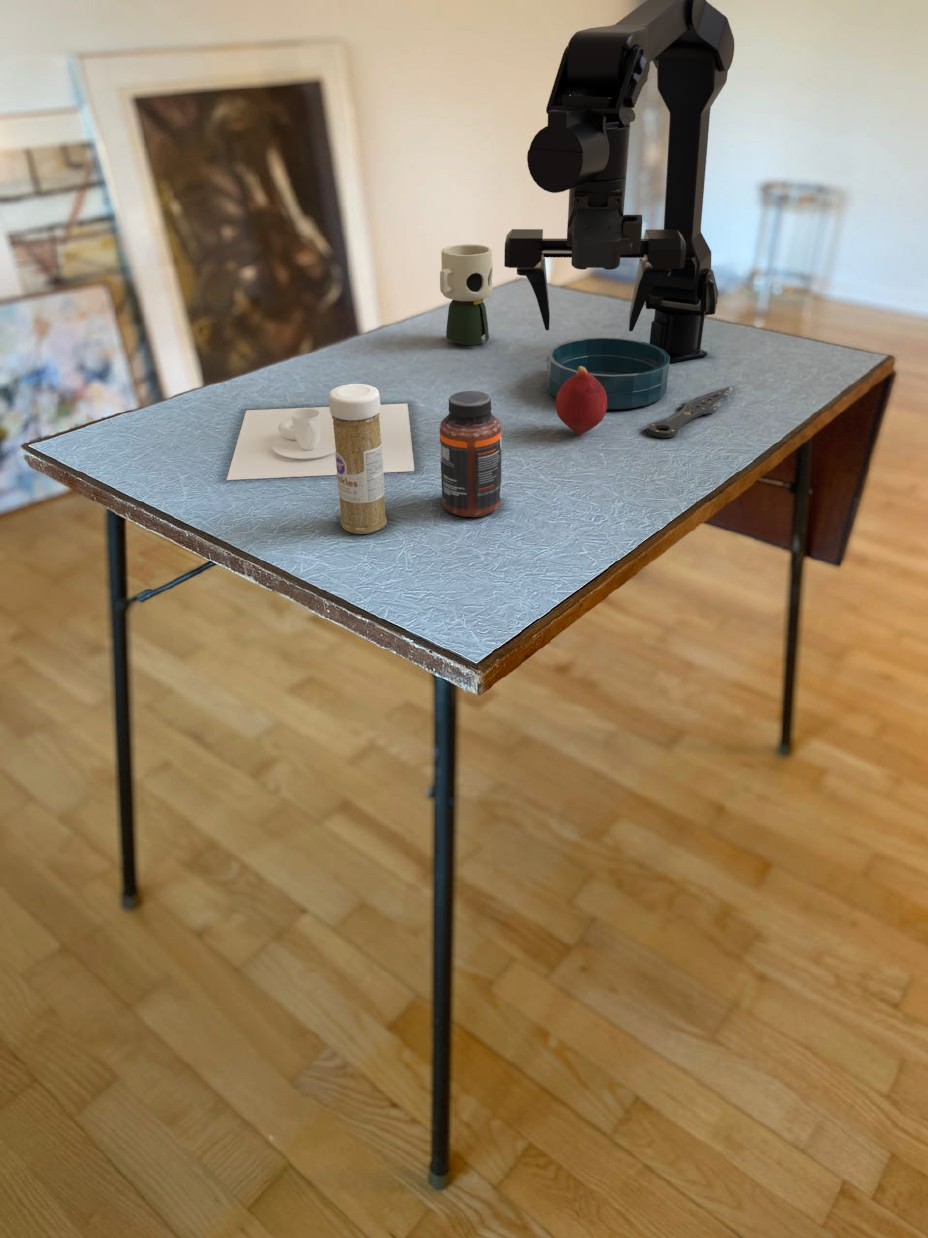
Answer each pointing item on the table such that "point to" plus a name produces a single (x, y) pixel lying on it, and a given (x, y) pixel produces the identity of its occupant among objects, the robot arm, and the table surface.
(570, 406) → the onion
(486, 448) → the supplement bottle
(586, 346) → the bowl
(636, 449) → the table surface
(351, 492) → the sprinkles bottle
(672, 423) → the throwing knife
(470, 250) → the character mug
